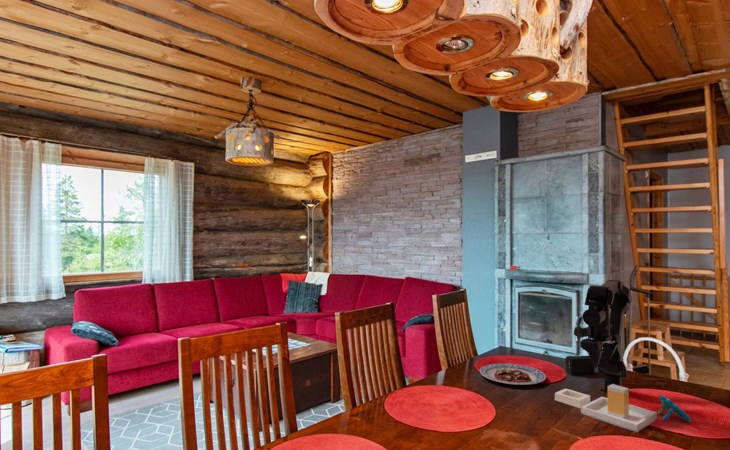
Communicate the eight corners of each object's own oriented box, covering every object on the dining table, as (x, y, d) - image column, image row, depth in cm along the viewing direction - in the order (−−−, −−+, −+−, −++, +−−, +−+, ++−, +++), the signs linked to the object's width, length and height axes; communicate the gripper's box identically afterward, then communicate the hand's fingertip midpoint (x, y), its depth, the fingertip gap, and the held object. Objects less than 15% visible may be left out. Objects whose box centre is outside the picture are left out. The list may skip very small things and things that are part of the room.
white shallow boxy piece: (565, 395, 162) (565, 388, 163) (590, 402, 155) (590, 395, 155) (554, 400, 158) (554, 393, 158) (579, 408, 151) (579, 400, 151)
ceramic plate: (556, 389, 169) (556, 381, 169) (489, 389, 169) (489, 381, 169) (531, 368, 195) (531, 361, 195) (473, 368, 195) (473, 361, 195)
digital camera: (587, 370, 191) (587, 354, 191) (595, 374, 185) (594, 358, 185) (564, 371, 190) (564, 355, 190) (571, 375, 184) (571, 358, 184)
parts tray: (602, 402, 155) (602, 396, 155) (656, 419, 142) (656, 412, 142) (580, 413, 146) (580, 407, 146) (637, 432, 133) (637, 425, 133)
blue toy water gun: (699, 422, 135) (672, 397, 137) (686, 436, 135) (659, 411, 137) (679, 412, 146) (654, 389, 148) (666, 425, 146) (642, 402, 148)
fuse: (612, 411, 147) (612, 383, 147) (628, 416, 143) (628, 388, 143) (607, 413, 145) (607, 386, 145) (624, 418, 141) (623, 390, 141)
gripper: (589, 314, 169) (590, 355, 169) (565, 321, 157) (565, 365, 157) (620, 318, 160) (621, 362, 160) (597, 326, 148) (597, 373, 148)
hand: (600, 365), depth 157 cm, fingers open, 9 cm apart
